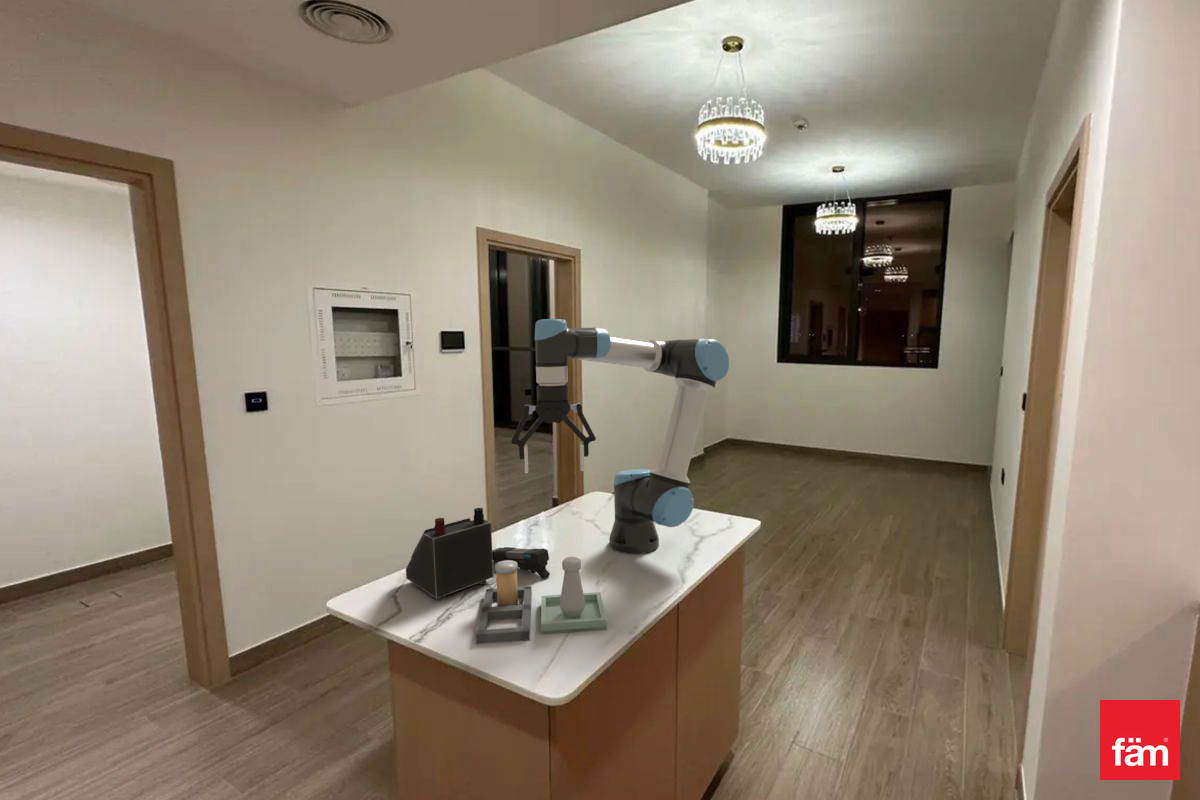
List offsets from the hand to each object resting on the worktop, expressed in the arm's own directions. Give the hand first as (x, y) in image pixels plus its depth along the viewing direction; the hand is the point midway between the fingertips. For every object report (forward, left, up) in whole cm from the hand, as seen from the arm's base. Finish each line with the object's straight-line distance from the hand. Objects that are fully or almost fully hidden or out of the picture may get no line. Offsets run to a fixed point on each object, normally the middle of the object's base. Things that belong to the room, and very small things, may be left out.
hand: (554, 471), depth 132 cm
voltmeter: (+28, -9, -31) cm, 43 cm away
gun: (+10, -15, -31) cm, 36 cm away
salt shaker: (-3, +13, -30) cm, 33 cm away
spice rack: (+12, +11, -31) cm, 35 cm away
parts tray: (-3, +13, -31) cm, 33 cm away
